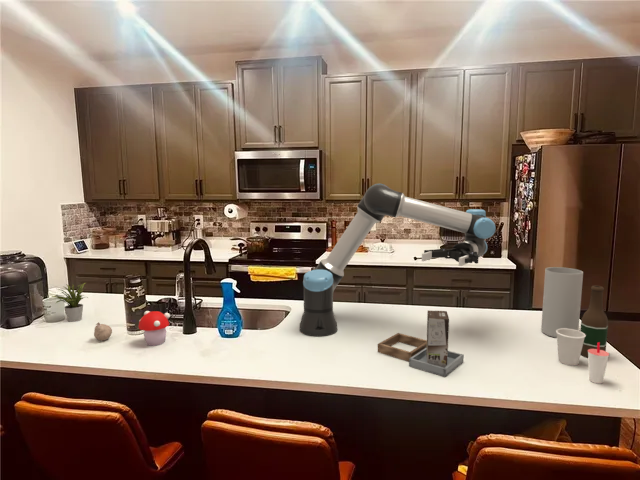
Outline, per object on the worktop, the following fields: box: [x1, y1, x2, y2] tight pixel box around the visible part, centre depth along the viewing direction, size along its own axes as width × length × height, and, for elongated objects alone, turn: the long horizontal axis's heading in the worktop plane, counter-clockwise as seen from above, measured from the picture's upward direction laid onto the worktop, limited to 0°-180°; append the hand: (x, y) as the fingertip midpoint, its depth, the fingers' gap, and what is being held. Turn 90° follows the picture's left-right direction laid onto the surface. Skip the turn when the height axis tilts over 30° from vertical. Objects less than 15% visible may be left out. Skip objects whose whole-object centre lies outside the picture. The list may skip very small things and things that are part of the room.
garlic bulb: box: [93, 322, 113, 342], centre depth 161 cm, size 7×6×8 cm
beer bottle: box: [579, 285, 609, 359], centre depth 143 cm, size 8×8×24 cm
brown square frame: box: [377, 332, 427, 362], centre depth 149 cm, size 13×14×3 cm
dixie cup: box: [556, 328, 586, 367], centre depth 139 cm, size 8×8×10 cm
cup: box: [587, 342, 610, 385], centre depth 125 cm, size 5×5×12 cm
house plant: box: [51, 282, 89, 323], centre depth 185 cm, size 14×14×16 cm
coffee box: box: [426, 309, 450, 368], centre depth 137 cm, size 9×6×16 cm
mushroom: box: [138, 310, 171, 347], centre depth 157 cm, size 11×11×12 cm
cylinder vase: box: [540, 266, 584, 339], centre depth 163 cm, size 12×12×25 cm
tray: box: [408, 347, 465, 378], centre depth 138 cm, size 12×14×2 cm
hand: (440, 259), depth 147 cm, fingers open, 13 cm apart
